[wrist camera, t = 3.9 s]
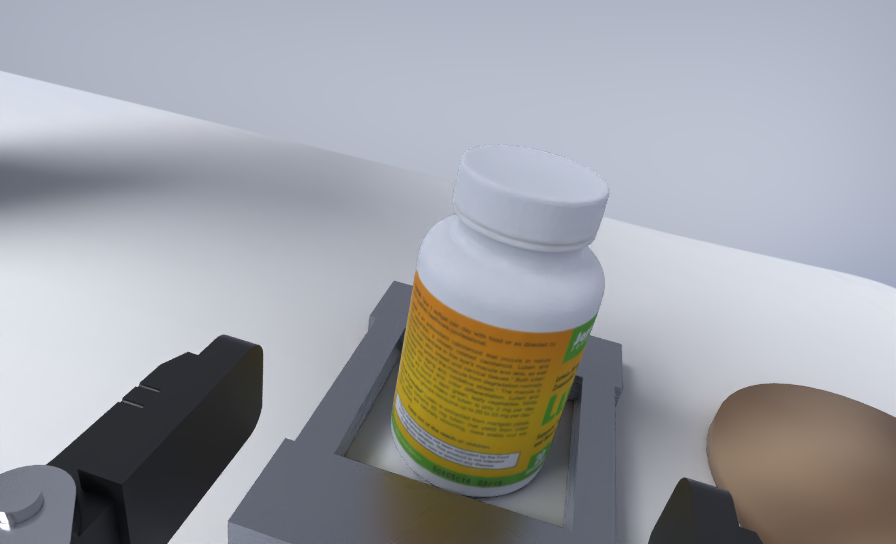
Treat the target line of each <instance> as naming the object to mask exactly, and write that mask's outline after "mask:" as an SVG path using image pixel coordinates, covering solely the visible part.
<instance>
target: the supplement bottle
mask: <svg viewBox="0 0 896 544" xmlns="http://www.w3.org/2000/svg"><path fill="white" fill-rule="evenodd" d="M608 197H609V186H608V185H607V183H606V181H605V180H604V179H603V178H602V177H601V176H599V175H598V174H597V173H595V172H594V171H592V170H591V169H589V168H587V167H586V166H584V165H581V164H579V163H577V162H575V161H572V160H570V159H567V158H565V157H561V156H559V155H555V154H552V153H549V152H545V151H541V150H537V149H532V148H526V147H519V146H510V145H484V146H477V147H474V148H471V149H469V150H467V151H466V152H465V153H464V154H463V156H462V158H461V161H460V166H459V170H458V175H457V180H456V183H455V187H454V191H453V199H454V201H453V208H454V211H455V213H456V214H454V215H451V216H448V217H446V218H445V219H443V220H441V221H440V222H438V223H437V224H436V225H434V226H433V227H432V228H431V229H430V230H429V232H428V233H427V234H426V236H425V238H424V240H423V242H422V244H421V247H420V251H419V256H418V261H417V266H416V271H415V278H414V284H413V290H412V296H411V302H410V308H409V314H408V320H407V325H406V331H405V337H404V343H403V349H402V355H401V361H400V366H399V372H398V378H397V384H396V390H395V396H394V402H393V409H392V416H391V430H392V436H393V439H394V442H395V445H396V447H397V449H398V451H399V453H400V455H401V456H402V458H403V459H404V461H405V462H406V463H407V464H408V465H409V466H410V468H411V469H412V470H413V471H414V472H416V473H417V474H418V475H419V476H421V477H422V478H423V479H425V480H426V481H428V482H429V483H431V484H433V485H435V486H437V487H439V488H442V489H444V490H447V491H450V492H453V493H456V494H461V495H466V496H474V497H491V496H498V495H504V494H507V493H511V492H513V491H516V490H518V489H520V488H522V487H523V486H525V485H526V484H528V483H529V482H530V481H531V480H532V479H533V478H534V477H535V476H536V475H537V474H538V472H539V471H540V469H541V468H542V466H543V464H544V462H545V459H546V457H547V454H548V452H549V449H550V446H551V444H552V441H553V438H554V435H555V432H556V429H557V426H558V423H559V421H560V418H561V415H562V412H563V409H564V406H565V403H566V400H567V397H568V394H569V392H570V389H571V386H572V383H573V380H574V378H575V375H576V372H577V369H578V366H579V364H580V361H581V358H582V355H583V352H584V350H585V347H586V344H587V341H588V338H589V335H590V332H591V330H592V327H593V324H594V322H595V319H596V316H597V313H598V310H599V307H600V304H601V301H602V297H603V294H604V288H605V279H604V273H603V269H602V267H601V264H600V262H599V260H598V259H597V257H596V256H595V254H594V253H593V252H592V251H591V249H590V248H589V247H588V245H590V244H591V243H592V242H593V241H594V239H595V237H596V234H597V231H598V229H599V226H600V223H601V220H602V217H603V213H604V210H605V207H606V204H607V200H608Z"/></svg>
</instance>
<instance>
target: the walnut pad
mask: <svg viewBox="0 0 896 544" xmlns="http://www.w3.org/2000/svg"><path fill="white" fill-rule="evenodd" d="M706 451H707V457H708V463H709V467H710V470H711V473H712V476H713V479H714V481H715V483H716V485H717V487H718V488H721V489H724V490H727V491H729V492H730V494H731V495H732V498H733V501H734V506H735V510H736V515H737V519H738V522H739V523H740V525H741V526H742V527H743V528H745V529H748V530H751V531H754V532H756V533H757V534H758V536H759V537H760V539H761V541H762V542H763V544H896V418H895V417H893V416H891V415H889V414H887V413H885V412H882V411H880V410H878V409H876V408H873V407H871V406H868V405H866V404H864V403H861V402H859V401H856V400H853V399H850V398H847V397H844V396H841V395H838V394H835V393H831V392H828V391H824V390H820V389H815V388H811V387H806V386H799V385H792V384H777V383H773V384H759V385H754V386H749V387H746V388H743V389H741V390H738V391H737V392H735V393H733V394H732V395H730V396H729V397H728V398H727V399H726V400H725V401H724V402H723V403H722V405H721V407H720V408H719V410H718V412H717V414H716V416H715V418H714V420H713V421H712V423H711V425H710V427H709V431H708V435H707V447H706Z"/></svg>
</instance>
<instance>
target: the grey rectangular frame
mask: <svg viewBox="0 0 896 544" xmlns="http://www.w3.org/2000/svg"><path fill="white" fill-rule="evenodd" d="M412 290H413V286H411V285H407V284H404V283H400V282H397V281H394V282H393V283H392V284H391V286H390V287H389V289H388V290H387V292H386V293H385V295H384V296H383V298H382V299H381V300H380V302H379V303H378V305H377V306H376V308H375V309H374V311H373V312H372V313H371V315H370V319H369V327H368V332H367V334H366V335H365V337H364V338H363V340H362V341H361V343H360V344H359V346H358V347H357V349H356V350H355V352H354V353H353V355H352V356H351V358H350V359H349V361H348V362H347V364H346V365H345V367H344V368H343V370H342V371H341V373H340V374H339V376H338V377H337V379H336V380H335V382H334V383H333V385H332V386H331V388H330V389H329V391H328V392H327V394H326V395H325V397H324V398H323V400H322V401H321V403H320V404H319V406H318V407H317V409H316V410H315V412H314V413H313V415H312V416H311V418H310V419H309V421H308V422H307V424H306V425H305V427H304V428H303V430H302V431H301V433H300V434H299V436H298V437H297V439H296V440H295V441H293V440H290V439H286V438H285V439H284V441H283V442H282V444H281V445H280V447H279V448H278V450H277V451H276V452H275V454H274V455H273V457H272V458H271V460H270V461H269V463H268V464H267V465H266V467H265V468H264V470H263V471H262V473H261V474H260V476H259V477H258V478H257V480H256V481H255V483H254V484H253V486H252V487H251V489H250V490H249V491H248V493H247V494H246V496H245V497H244V499H243V500H242V502H241V503H240V505H239V506H238V507H237V509H236V510H235V512H234V513H233V515H232V516H231V518H230V519H229V520H228V544H616V479H615V406H616V404H617V401H618V399H619V397H620V394H621V392H622V389H623V381H622V345H621V344H619V343H615V342H611V341H608V340H604V339H601V338H597V337H593V336H590V335H589V338H588V341H587V344H586V347H585V350H584V352H583V355H582V358H581V361H580V364H579V366H578V369H577V372H576V375H575V378H574V380H573V383H572V386H571V389H570V392H569V394H568V397H567V399H568V400H572V401H574V409H573V421H572V433H571V445H570V456H569V468H568V480H567V492H566V504H565V515H564V527H563V528H562V527H558V526H555V525H552V524H549V523H546V522H543V521H540V520H537V519H534V518H531V517H528V516H524V515H521V514H518V513H515V512H512V511H509V510H506V509H503V508H500V507H497V506H494V505H490V504H487V503H484V502H481V501H478V500H475V499H472V498H469V497H466V496H463V495H460V494H456V493H453V492H450V491H447V490H444V489H441V488H438V487H435V486H432V485H429V484H426V483H422V482H419V481H416V480H413V479H410V478H407V477H404V476H401V475H398V474H395V473H392V472H388V471H385V470H382V469H379V468H376V467H373V466H370V465H367V464H364V463H361V462H358V461H354V460H351V459H348V458H345V457H344V456H345V454H346V452H347V451H348V449H349V447H350V445H351V443H352V441H353V440H354V438H355V436H356V434H357V432H358V430H359V429H360V427H361V425H362V423H363V421H364V419H365V418H366V416H367V414H368V412H369V410H370V408H371V407H372V405H373V403H374V401H375V399H376V397H377V396H378V394H379V392H380V390H381V388H382V386H383V385H384V383H385V381H386V379H387V377H388V375H389V373H390V372H391V370H392V368H393V366H394V364H395V362H396V361H397V359H398V357H399V355H400V353H401V351H402V349H403V343H404V337H405V331H406V325H407V320H408V314H409V308H410V302H411V296H412Z"/></svg>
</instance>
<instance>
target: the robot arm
mask: <svg viewBox="0 0 896 544" xmlns="http://www.w3.org/2000/svg"><path fill="white" fill-rule="evenodd" d="M262 390H263V349H262V347H261V346H260V345H257V344H254V343H250V342H247V341H244V340H241V339H237V338H234V337H231V336H228V335H221V336H219V337H217V338H216V339H215V340H214V341H213V342H212V343H211V344H210V345H209V346H207V347H206V348H205V349H204V350H203V351H202V352H201V353H200V354H199V355H196V354H193V353H190V352H187V353H185V354H182V355H180V356H178V357H176V358H174V359H172V360H169V361H167V362H165V363H163V364H161V365H159V366H158V367H157V368H156V369H155V370H154V371H153V372H151V373H150V374H149V375H148V376H147V377H146V378H145V379H144V380H142V381H141V382H140V384H139V386H138V387H134V388H133V389H132V390H131V391H130V392H129V393H128V394H127V395H125V396H124V397H123V399H122V401H121V402H117V403H116V404H115V405H114V406H113V407H112V408H111V409H110V410H108V411H107V412H106V413H105V414H104V415H103V416H102V417H100V418H99V419H98V420H97V421H96V422H95V423H94V424H93V425H91V426H90V427H89V428H88V429H87V430H86V431H85V432H84V433H82V434H81V435H80V436H79V437H78V438H77V439H76V440H74V441H73V442H72V443H71V444H70V445H69V446H68V447H67V448H65V449H64V450H63V451H62V452H61V453H60V454H59V455H57V456H56V457H55V458H54V459H53V460H52V461H50V462H49V463H48V464H46V465H32V466H25V467H20V468H16V469H13V470H10V471H7V472H5V473H2V474H0V544H167V543H168V542H169V541H170V539H171V538H172V537H173V535H174V534H175V533H176V531H177V530H178V529H179V528H180V526H181V525H182V524H183V522H184V521H185V520H186V519H187V517H188V516H189V515H190V513H191V512H192V511H193V509H194V508H195V507H196V506H197V504H198V503H199V502H200V500H201V499H202V498H203V496H204V495H205V494H206V493H207V491H208V490H209V489H210V487H211V486H212V485H213V484H214V482H215V481H216V480H217V478H218V477H219V476H220V474H221V473H222V472H223V471H224V469H225V468H226V467H227V465H228V464H229V463H230V461H231V460H232V459H233V458H234V456H235V455H236V454H237V452H238V451H239V450H240V449H241V447H242V446H243V445H244V443H245V442H246V441H247V439H248V438H249V437H250V435H251V434H252V432H253V431H254V429H255V427H256V424H257V422H258V420H259V417H260V413H261V409H262ZM648 544H763V542H762V541H761V539H760V537H759V536H758V534H757V533H756V532H754V531H751V530H748V529H745V528H742V527H739V524H738V519H737V515H736V510H735V506H734V501H733V498H732V495H731V494H730V492H729V491H727V490H724V489H721V488H718V487H714V486H711V485H708V484H705V483H701V482H698V481H695V480H692V479H688V478H682V479H681V480H680V481H679V482H678V484H677V485H676V487H675V489H674V491H673V493H672V495H671V497H670V499H669V501H668V502H667V504H666V506H665V508H664V510H663V512H662V514H661V516H660V517H659V519H658V521H657V523H656V525H655V527H654V529H653V531H652V533H651V536H650V539H649V542H648Z"/></svg>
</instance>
